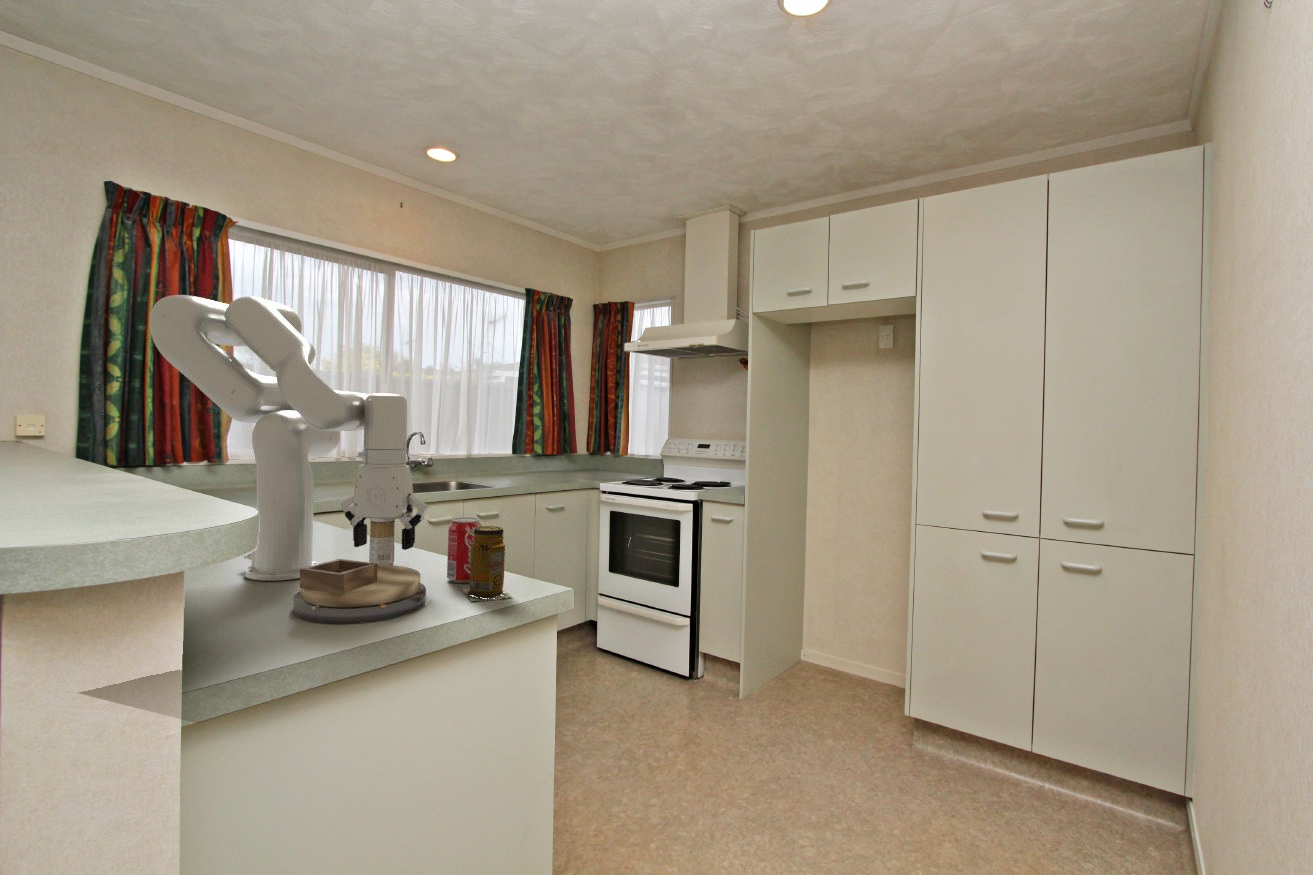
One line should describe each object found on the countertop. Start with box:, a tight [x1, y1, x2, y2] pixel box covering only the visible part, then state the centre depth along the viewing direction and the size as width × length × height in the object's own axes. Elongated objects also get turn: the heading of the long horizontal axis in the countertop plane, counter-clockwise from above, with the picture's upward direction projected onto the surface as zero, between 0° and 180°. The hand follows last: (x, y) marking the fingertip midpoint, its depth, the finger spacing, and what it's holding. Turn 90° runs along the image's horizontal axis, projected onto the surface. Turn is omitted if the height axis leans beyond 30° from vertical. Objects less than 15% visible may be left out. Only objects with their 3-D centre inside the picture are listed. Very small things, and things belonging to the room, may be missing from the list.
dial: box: [299, 558, 421, 607], centre depth 103 cm, size 18×18×5 cm
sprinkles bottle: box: [368, 518, 396, 565], centre depth 118 cm, size 5×5×13 cm
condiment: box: [461, 525, 513, 602], centre depth 112 cm, size 7×8×12 cm
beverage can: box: [446, 516, 482, 584], centre depth 120 cm, size 6×6×12 cm
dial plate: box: [292, 582, 427, 625], centre depth 103 cm, size 20×20×2 cm
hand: (383, 546), depth 118 cm, fingers open, 9 cm apart
